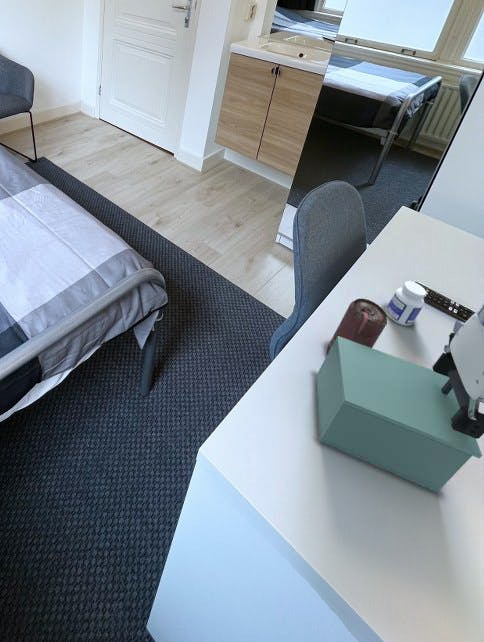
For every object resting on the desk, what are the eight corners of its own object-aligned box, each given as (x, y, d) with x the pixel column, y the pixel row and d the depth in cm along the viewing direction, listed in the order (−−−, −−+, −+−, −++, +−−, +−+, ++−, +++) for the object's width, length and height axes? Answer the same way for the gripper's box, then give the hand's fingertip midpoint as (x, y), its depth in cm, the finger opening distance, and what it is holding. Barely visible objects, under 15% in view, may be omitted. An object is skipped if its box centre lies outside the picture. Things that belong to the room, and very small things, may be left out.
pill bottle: (409, 312, 96) (427, 284, 92) (414, 330, 92) (433, 301, 88) (383, 303, 98) (399, 275, 94) (386, 320, 94) (403, 291, 89)
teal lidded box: (416, 416, 75) (445, 378, 70) (436, 493, 65) (472, 456, 60) (315, 376, 80) (335, 338, 75) (319, 441, 70) (343, 403, 65)
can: (324, 361, 83) (350, 313, 77) (328, 339, 88) (353, 291, 81) (358, 379, 80) (389, 330, 74) (361, 355, 85) (389, 307, 78)
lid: (451, 380, 70) (468, 359, 67) (479, 458, 59) (500, 436, 57) (335, 338, 75) (347, 317, 73) (343, 403, 65) (356, 381, 62)
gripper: (589, 396, 48) (507, 473, 56) (521, 290, 62) (463, 364, 70) (508, 368, 50) (440, 446, 58) (460, 272, 64) (411, 345, 72)
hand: (453, 401), depth 64 cm, fingers open, 9 cm apart
